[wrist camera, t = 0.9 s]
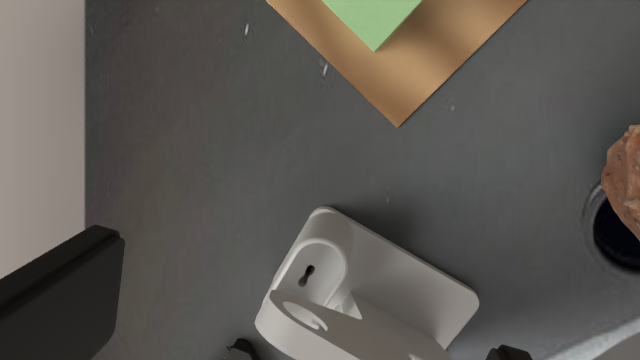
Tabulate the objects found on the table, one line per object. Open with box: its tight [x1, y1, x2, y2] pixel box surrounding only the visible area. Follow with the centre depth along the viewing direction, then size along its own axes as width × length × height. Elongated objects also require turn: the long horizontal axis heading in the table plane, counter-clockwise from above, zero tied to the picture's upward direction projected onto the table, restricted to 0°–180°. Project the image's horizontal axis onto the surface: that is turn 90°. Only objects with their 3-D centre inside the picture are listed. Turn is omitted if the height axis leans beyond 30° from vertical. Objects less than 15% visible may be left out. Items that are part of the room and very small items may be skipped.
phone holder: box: [255, 206, 479, 360], centre depth 31 cm, size 17×10×18 cm, turn 61°
